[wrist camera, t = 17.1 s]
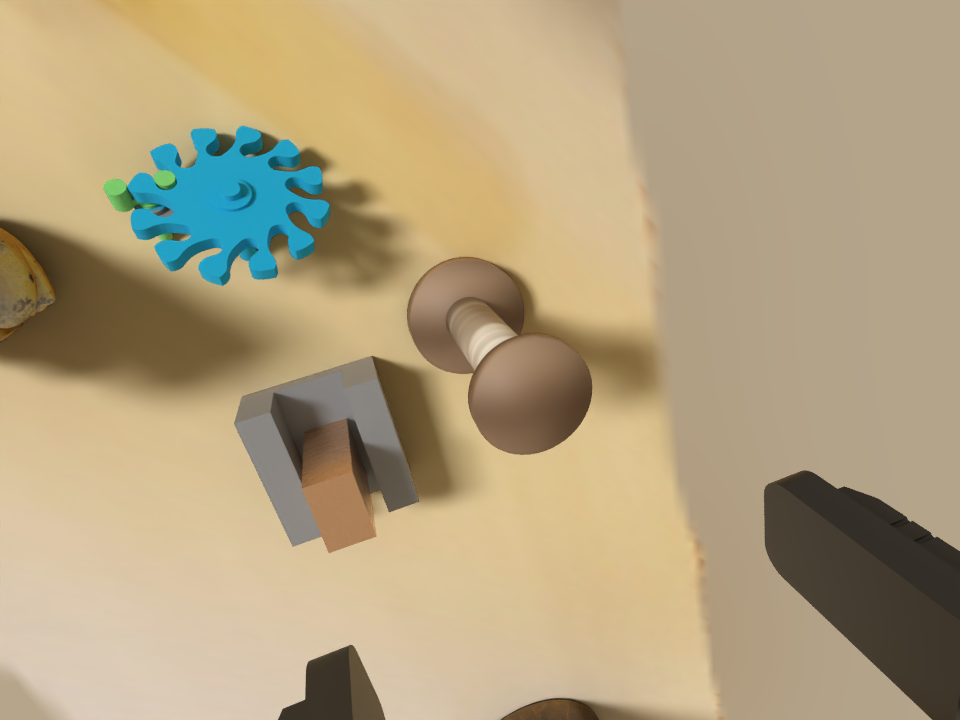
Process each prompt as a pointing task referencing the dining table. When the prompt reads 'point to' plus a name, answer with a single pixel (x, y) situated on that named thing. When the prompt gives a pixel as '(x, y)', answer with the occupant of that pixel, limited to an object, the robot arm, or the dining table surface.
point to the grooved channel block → (313, 403)
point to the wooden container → (554, 711)
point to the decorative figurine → (20, 285)
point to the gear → (223, 204)
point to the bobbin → (499, 356)
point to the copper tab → (337, 486)
